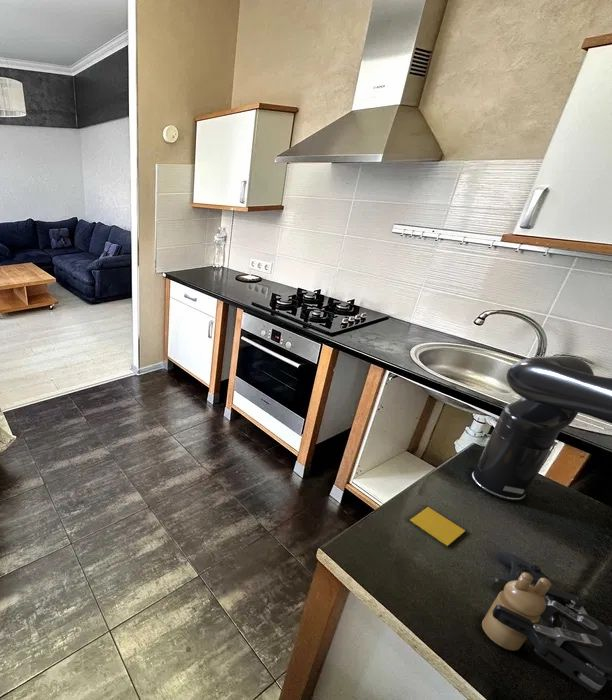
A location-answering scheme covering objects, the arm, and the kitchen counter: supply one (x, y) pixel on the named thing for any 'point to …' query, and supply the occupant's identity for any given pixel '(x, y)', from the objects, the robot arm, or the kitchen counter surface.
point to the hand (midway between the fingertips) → (494, 596)
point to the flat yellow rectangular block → (437, 526)
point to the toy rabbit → (516, 609)
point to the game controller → (519, 567)
